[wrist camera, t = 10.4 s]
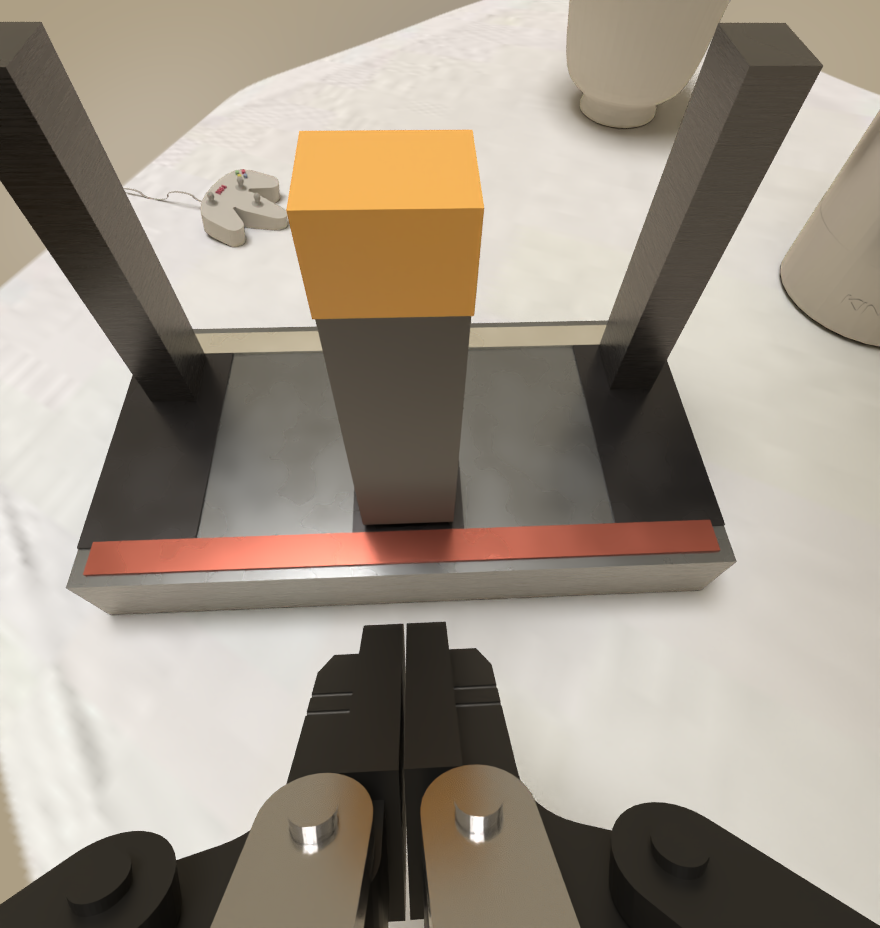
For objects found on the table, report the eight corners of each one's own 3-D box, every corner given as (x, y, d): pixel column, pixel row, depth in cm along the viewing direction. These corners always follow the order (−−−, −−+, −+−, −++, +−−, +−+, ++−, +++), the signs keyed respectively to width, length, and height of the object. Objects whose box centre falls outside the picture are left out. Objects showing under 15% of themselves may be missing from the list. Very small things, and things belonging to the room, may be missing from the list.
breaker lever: (363, 465, 21) (299, 130, 10) (450, 463, 21) (472, 129, 11) (361, 526, 19) (286, 210, 9) (454, 522, 20) (483, 208, 9)
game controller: (286, 253, 33) (275, 213, 31) (92, 253, 33) (67, 213, 31) (297, 197, 36) (288, 156, 34) (119, 197, 36) (98, 157, 34)
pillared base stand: (174, 374, 27) (-49, -7, 15) (631, 363, 28) (799, -5, 15) (109, 614, 21) (-389, 312, 8) (700, 590, 22) (1083, 284, 9)
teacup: (673, 58, 47) (727, -108, 38) (713, 155, 39) (793, -27, 30) (531, 53, 47) (554, -114, 38) (543, 149, 39) (575, -35, 30)
